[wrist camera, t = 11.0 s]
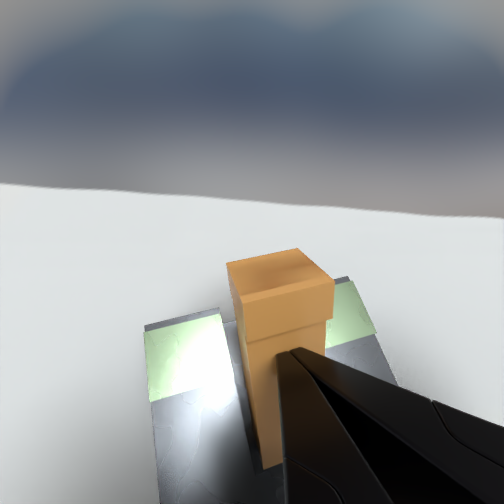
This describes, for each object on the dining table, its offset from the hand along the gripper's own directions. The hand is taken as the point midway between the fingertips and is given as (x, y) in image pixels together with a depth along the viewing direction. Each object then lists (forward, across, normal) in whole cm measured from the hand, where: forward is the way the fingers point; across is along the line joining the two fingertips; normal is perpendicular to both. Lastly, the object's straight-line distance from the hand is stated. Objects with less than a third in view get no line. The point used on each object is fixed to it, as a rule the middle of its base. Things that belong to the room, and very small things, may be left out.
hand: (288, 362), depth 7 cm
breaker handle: (+1, 0, -5) cm, 5 cm away
